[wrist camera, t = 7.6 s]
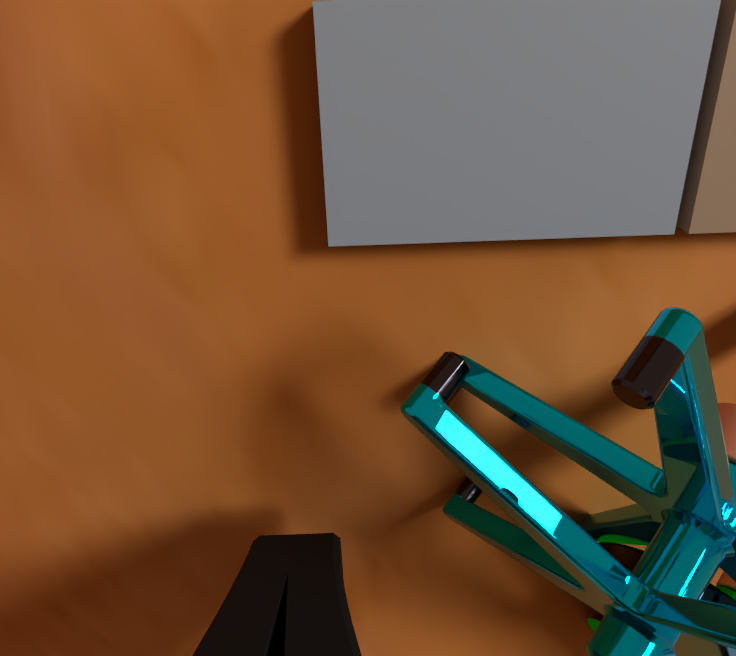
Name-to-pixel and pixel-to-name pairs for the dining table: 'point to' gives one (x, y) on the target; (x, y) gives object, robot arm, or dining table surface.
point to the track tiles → (526, 118)
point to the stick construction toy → (626, 474)
